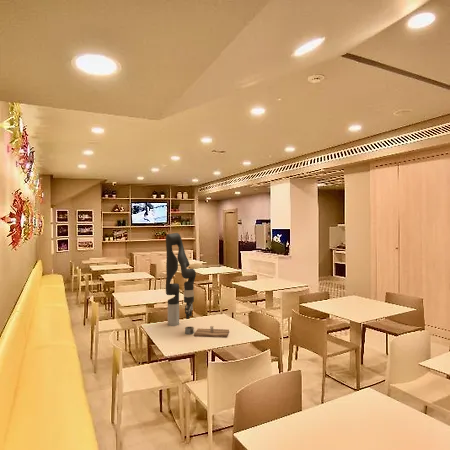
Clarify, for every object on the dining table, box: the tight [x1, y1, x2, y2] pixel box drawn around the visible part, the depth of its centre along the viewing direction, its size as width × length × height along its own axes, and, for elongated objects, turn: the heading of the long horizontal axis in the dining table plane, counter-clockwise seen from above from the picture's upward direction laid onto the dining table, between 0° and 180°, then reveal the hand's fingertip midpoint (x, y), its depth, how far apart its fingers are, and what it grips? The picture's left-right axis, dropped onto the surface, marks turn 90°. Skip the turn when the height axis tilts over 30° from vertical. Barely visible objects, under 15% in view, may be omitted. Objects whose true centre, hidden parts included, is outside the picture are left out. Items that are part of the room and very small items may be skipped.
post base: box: [193, 325, 230, 339], centre depth 267 cm, size 14×24×6 cm, turn 83°
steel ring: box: [184, 326, 195, 335], centre depth 269 cm, size 6×6×4 cm
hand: (189, 317), depth 268 cm, fingers open, 8 cm apart
